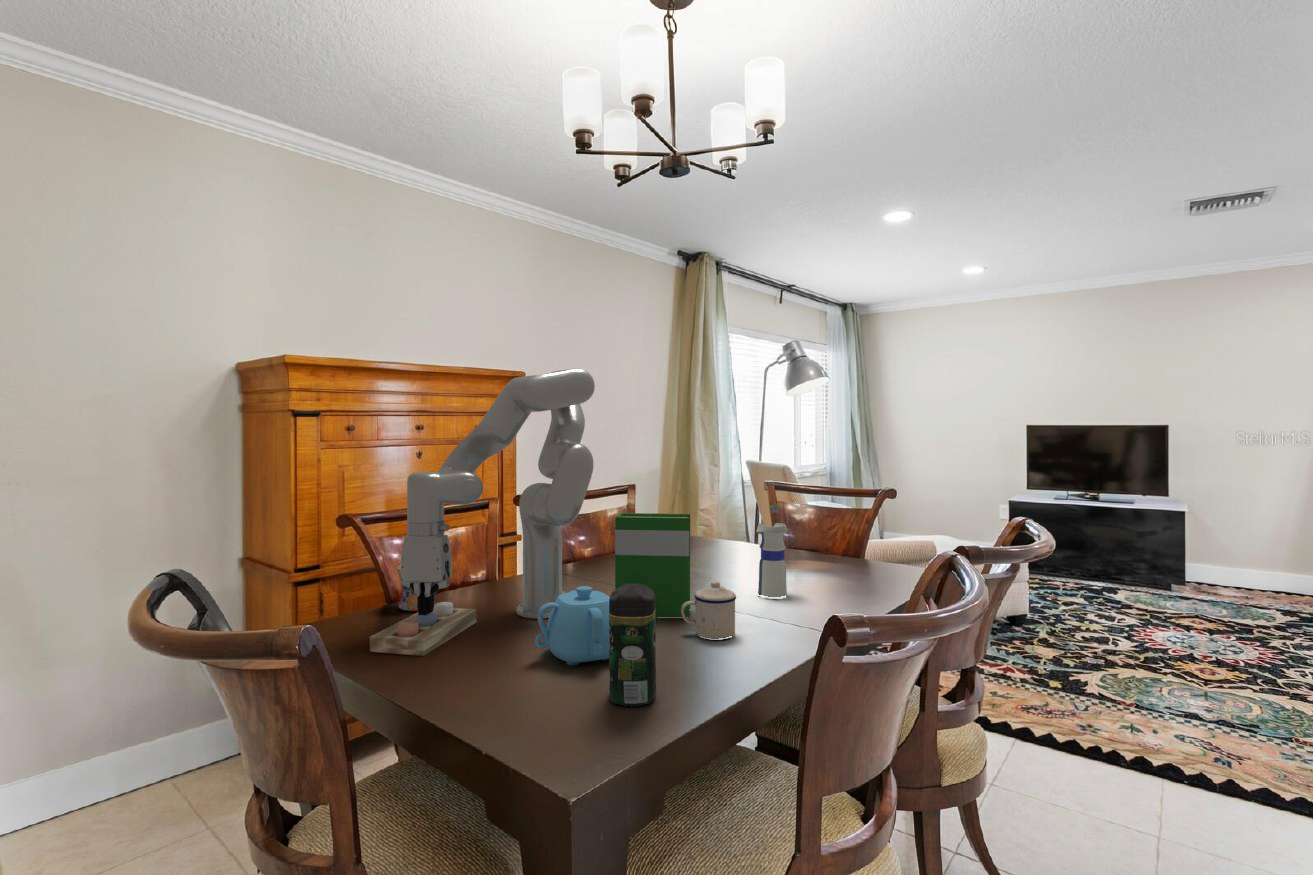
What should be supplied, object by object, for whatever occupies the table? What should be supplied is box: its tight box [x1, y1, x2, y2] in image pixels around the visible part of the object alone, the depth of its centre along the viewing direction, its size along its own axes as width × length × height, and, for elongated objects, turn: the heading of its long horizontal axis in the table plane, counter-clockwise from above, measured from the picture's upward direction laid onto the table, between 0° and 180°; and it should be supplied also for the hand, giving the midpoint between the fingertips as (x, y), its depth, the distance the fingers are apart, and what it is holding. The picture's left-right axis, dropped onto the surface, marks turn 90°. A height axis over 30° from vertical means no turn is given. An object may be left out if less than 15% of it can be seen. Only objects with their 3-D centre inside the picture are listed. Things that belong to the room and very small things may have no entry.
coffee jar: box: [608, 584, 657, 708], centre depth 107 cm, size 10×8×19 cm
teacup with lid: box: [681, 580, 737, 639], centre depth 138 cm, size 12×9×12 cm
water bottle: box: [755, 501, 789, 597], centre depth 170 cm, size 8×9×25 cm
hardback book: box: [614, 512, 691, 618], centre depth 154 cm, size 18×7×24 cm, turn 85°
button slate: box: [416, 611, 437, 626], centre depth 137 cm, size 4×4×4 cm
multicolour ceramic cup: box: [396, 564, 436, 612], centre depth 160 cm, size 12×9×11 cm
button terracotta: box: [397, 620, 418, 637], centre depth 130 cm, size 4×4×4 cm
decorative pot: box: [534, 585, 610, 666], centre depth 126 cm, size 16×16×14 cm
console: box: [369, 607, 477, 657], centre depth 137 cm, size 12×22×3 cm, turn 169°
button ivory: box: [434, 601, 454, 617], centre depth 144 cm, size 4×4×4 cm
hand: (425, 613), depth 137 cm, fingers closed
